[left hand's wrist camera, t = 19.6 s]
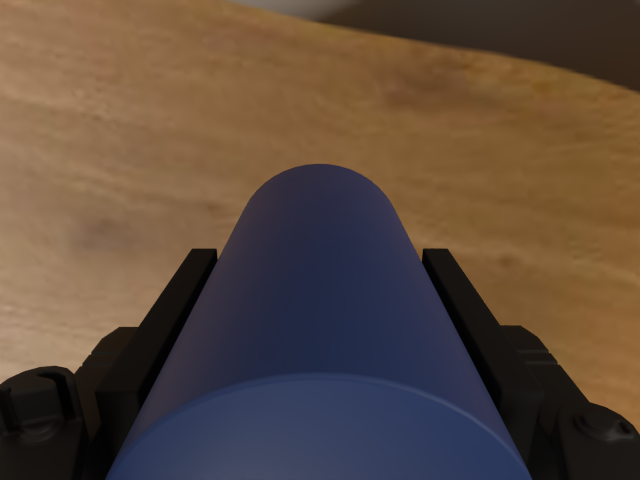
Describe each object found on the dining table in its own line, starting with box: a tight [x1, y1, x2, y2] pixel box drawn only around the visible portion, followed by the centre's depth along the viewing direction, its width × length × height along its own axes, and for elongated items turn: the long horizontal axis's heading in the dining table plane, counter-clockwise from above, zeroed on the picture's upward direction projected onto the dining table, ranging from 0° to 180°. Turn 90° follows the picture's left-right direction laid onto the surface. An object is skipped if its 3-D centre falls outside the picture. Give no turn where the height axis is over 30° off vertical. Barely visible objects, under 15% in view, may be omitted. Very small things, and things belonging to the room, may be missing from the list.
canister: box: [105, 164, 532, 480], centre depth 12 cm, size 6×6×12 cm
